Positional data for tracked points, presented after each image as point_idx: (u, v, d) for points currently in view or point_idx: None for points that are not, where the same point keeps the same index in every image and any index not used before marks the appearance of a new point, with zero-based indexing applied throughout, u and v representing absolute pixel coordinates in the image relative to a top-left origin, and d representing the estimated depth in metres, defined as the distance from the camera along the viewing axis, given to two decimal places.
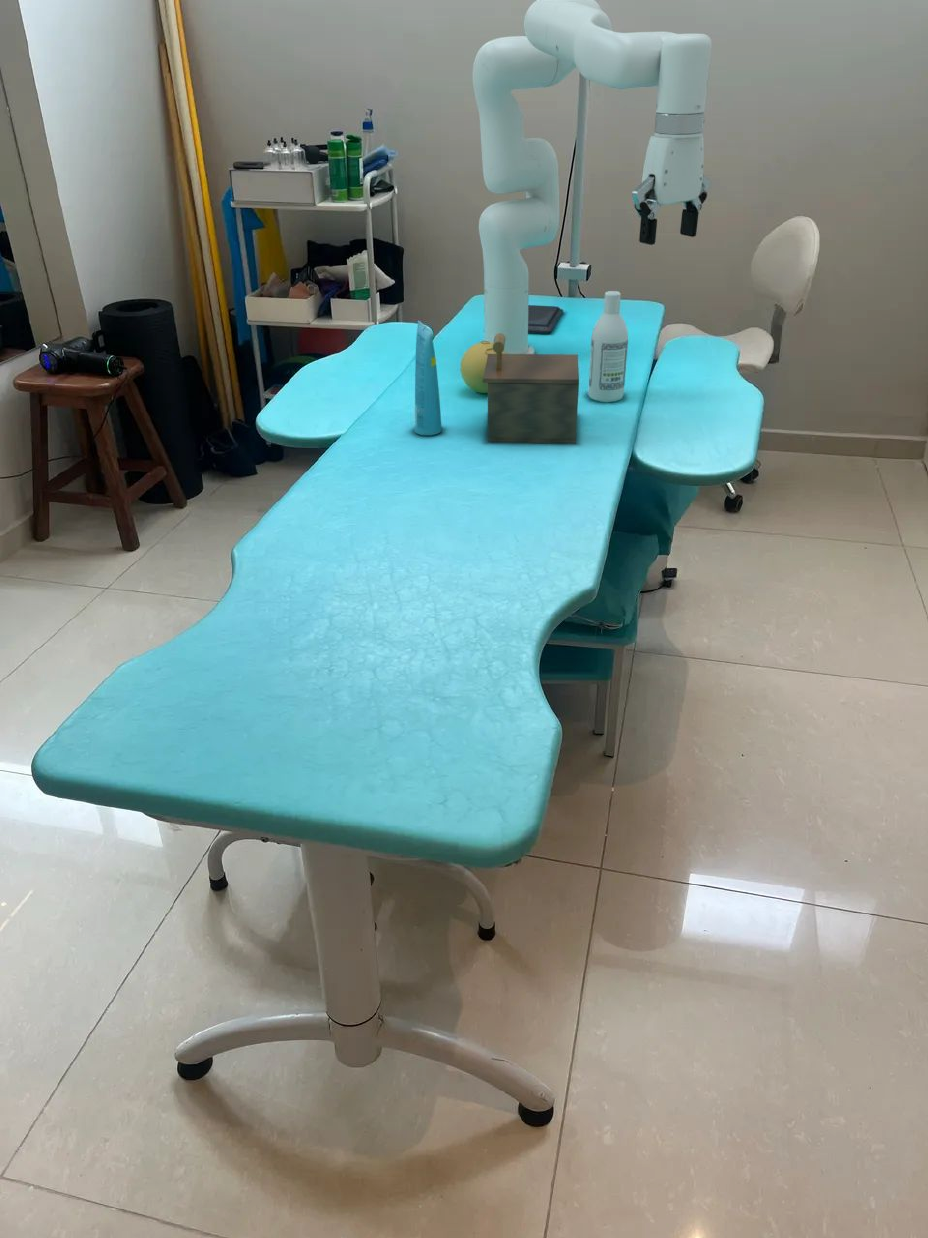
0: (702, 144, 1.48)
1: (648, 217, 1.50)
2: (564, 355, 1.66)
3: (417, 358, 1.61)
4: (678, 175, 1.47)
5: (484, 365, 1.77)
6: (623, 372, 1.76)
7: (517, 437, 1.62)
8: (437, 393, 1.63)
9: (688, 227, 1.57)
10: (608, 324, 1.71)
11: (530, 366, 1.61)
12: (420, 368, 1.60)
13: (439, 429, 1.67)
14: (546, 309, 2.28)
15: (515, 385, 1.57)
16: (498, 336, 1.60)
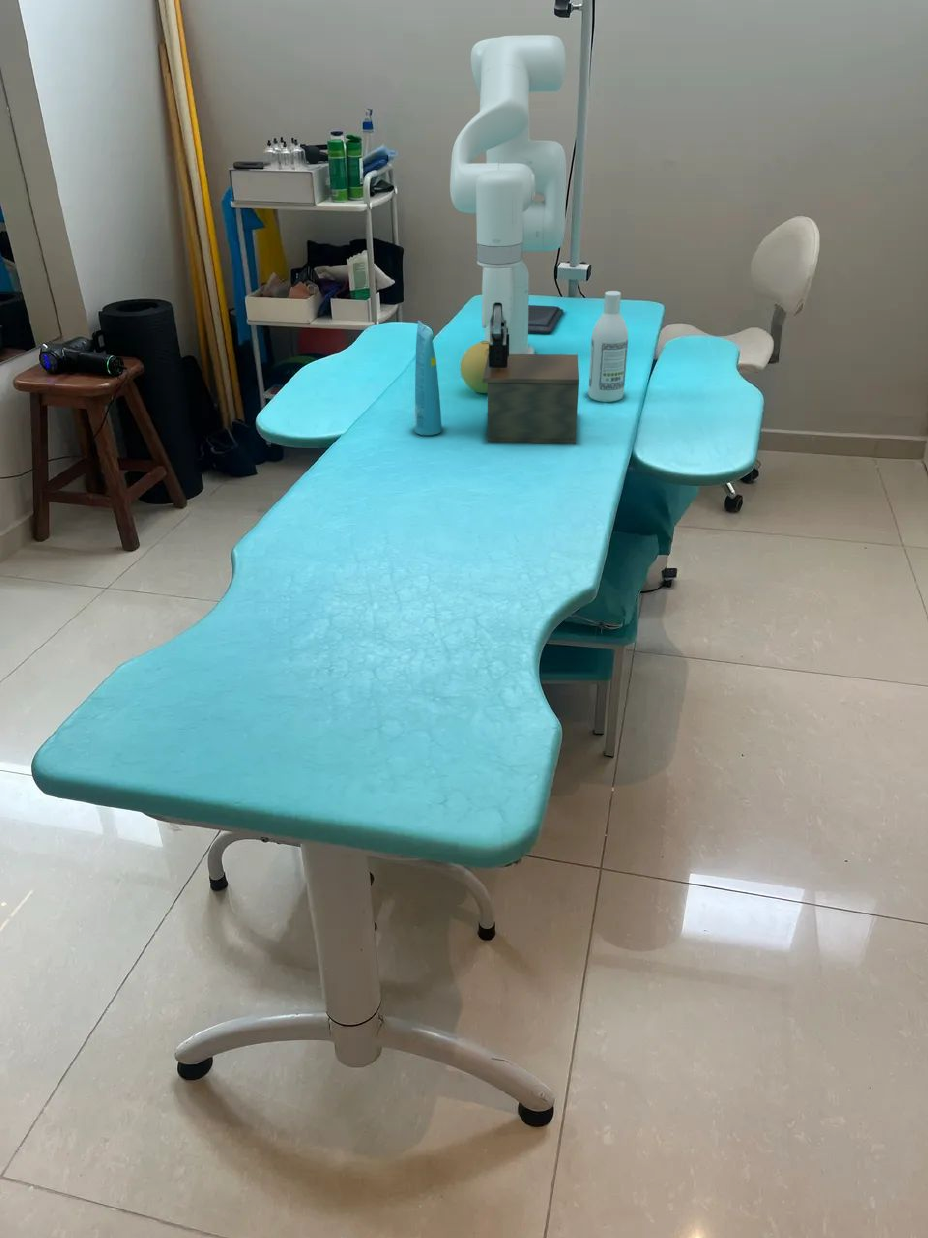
0: None
1: (503, 344, 1.56)
2: (564, 355, 1.66)
3: (417, 358, 1.61)
4: (513, 298, 1.54)
5: (484, 365, 1.77)
6: (623, 372, 1.76)
7: (517, 437, 1.62)
8: (437, 393, 1.63)
9: None
10: (608, 324, 1.71)
11: (530, 367, 1.61)
12: (420, 368, 1.60)
13: (439, 429, 1.67)
14: (546, 309, 2.28)
15: (515, 385, 1.57)
16: None
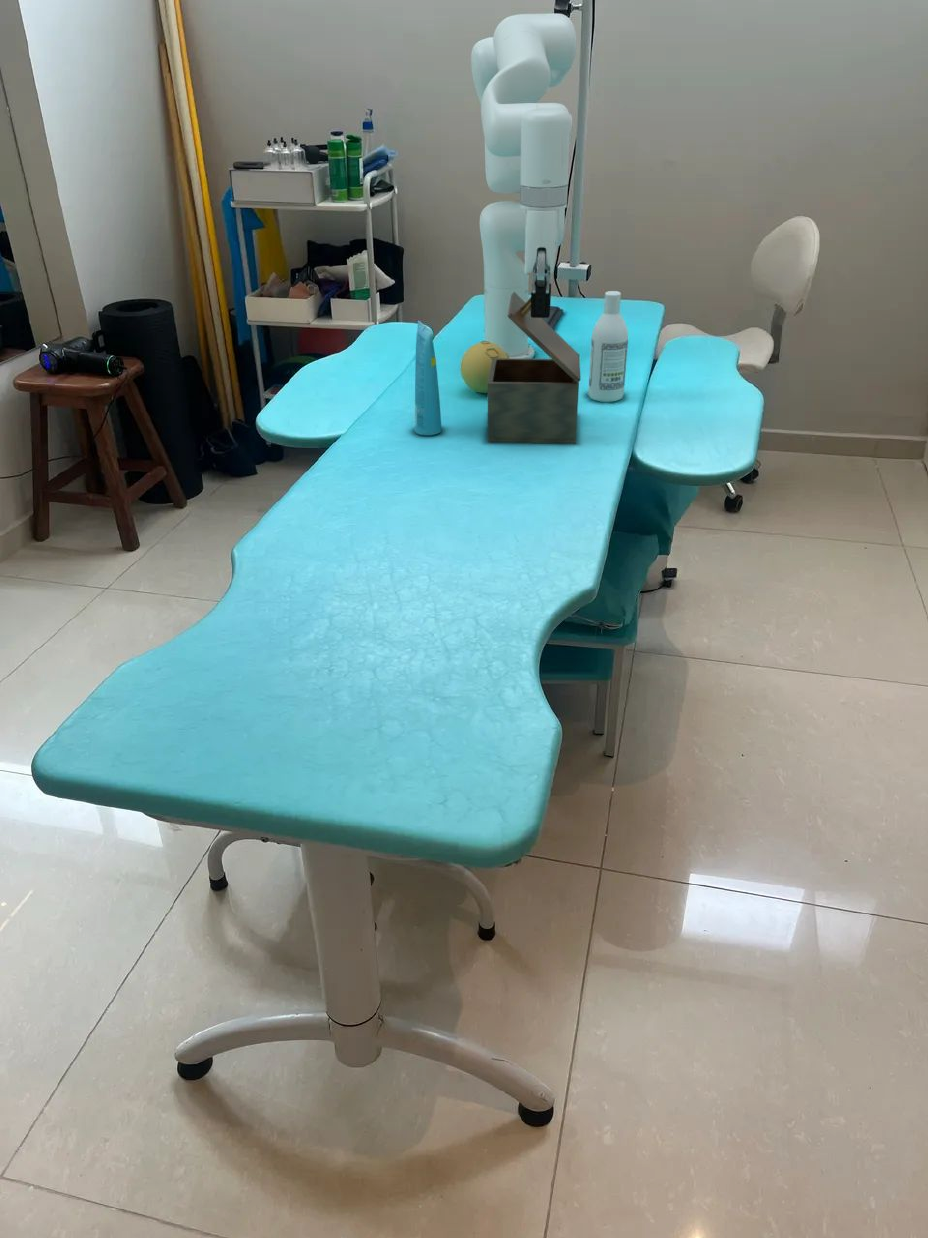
0: None
1: (546, 292, 1.51)
2: (569, 347, 1.65)
3: (417, 358, 1.61)
4: None
5: (484, 365, 1.77)
6: (623, 372, 1.76)
7: (517, 437, 1.62)
8: (437, 393, 1.63)
9: None
10: (608, 324, 1.71)
11: (546, 335, 1.58)
12: (420, 368, 1.60)
13: (439, 429, 1.67)
14: None
15: (515, 385, 1.57)
16: None
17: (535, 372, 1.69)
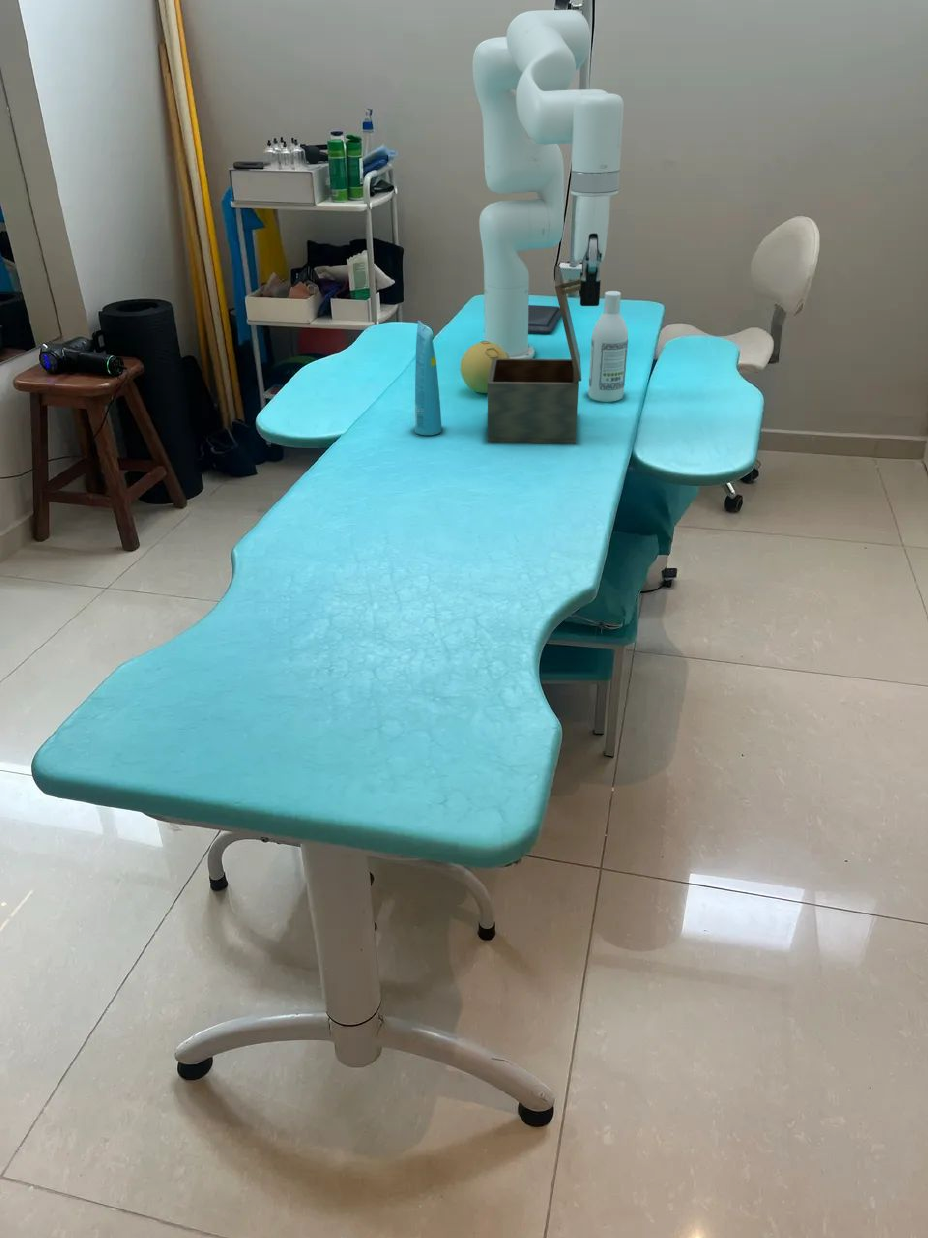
0: None
1: (597, 280, 1.49)
2: None
3: (417, 358, 1.61)
4: None
5: (484, 365, 1.77)
6: (623, 372, 1.76)
7: (517, 437, 1.62)
8: (437, 393, 1.63)
9: None
10: (608, 324, 1.71)
11: (570, 322, 1.57)
12: (420, 368, 1.60)
13: (439, 429, 1.67)
14: (546, 308, 2.28)
15: (515, 385, 1.57)
16: None
17: (535, 372, 1.69)
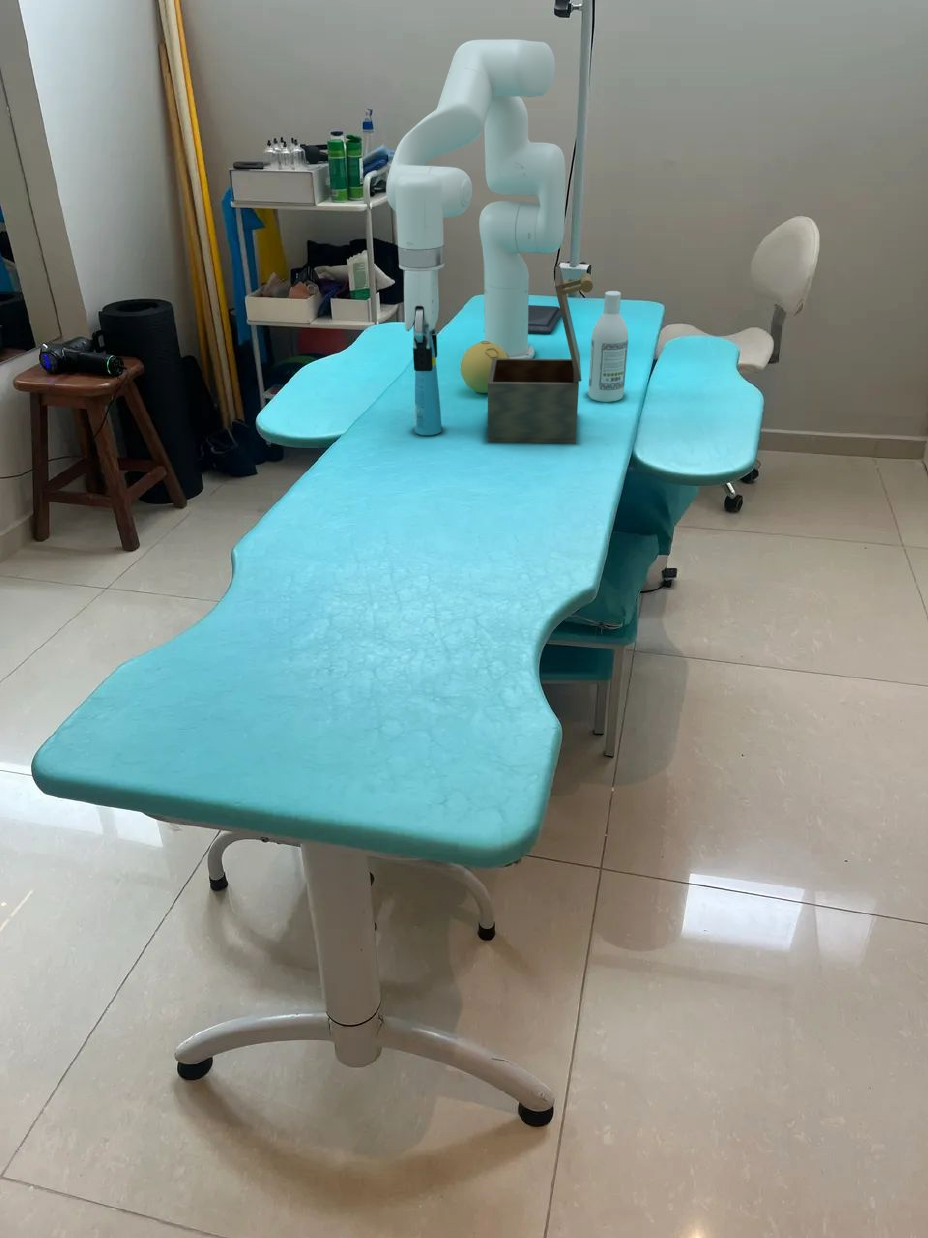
0: None
1: (427, 348, 1.55)
2: None
3: None
4: (436, 302, 1.54)
5: (484, 365, 1.77)
6: (623, 372, 1.76)
7: (517, 437, 1.62)
8: (437, 393, 1.63)
9: None
10: (608, 324, 1.71)
11: (570, 322, 1.57)
12: None
13: (439, 429, 1.67)
14: (546, 309, 2.28)
15: (515, 385, 1.57)
16: (591, 279, 1.54)
17: (535, 372, 1.69)
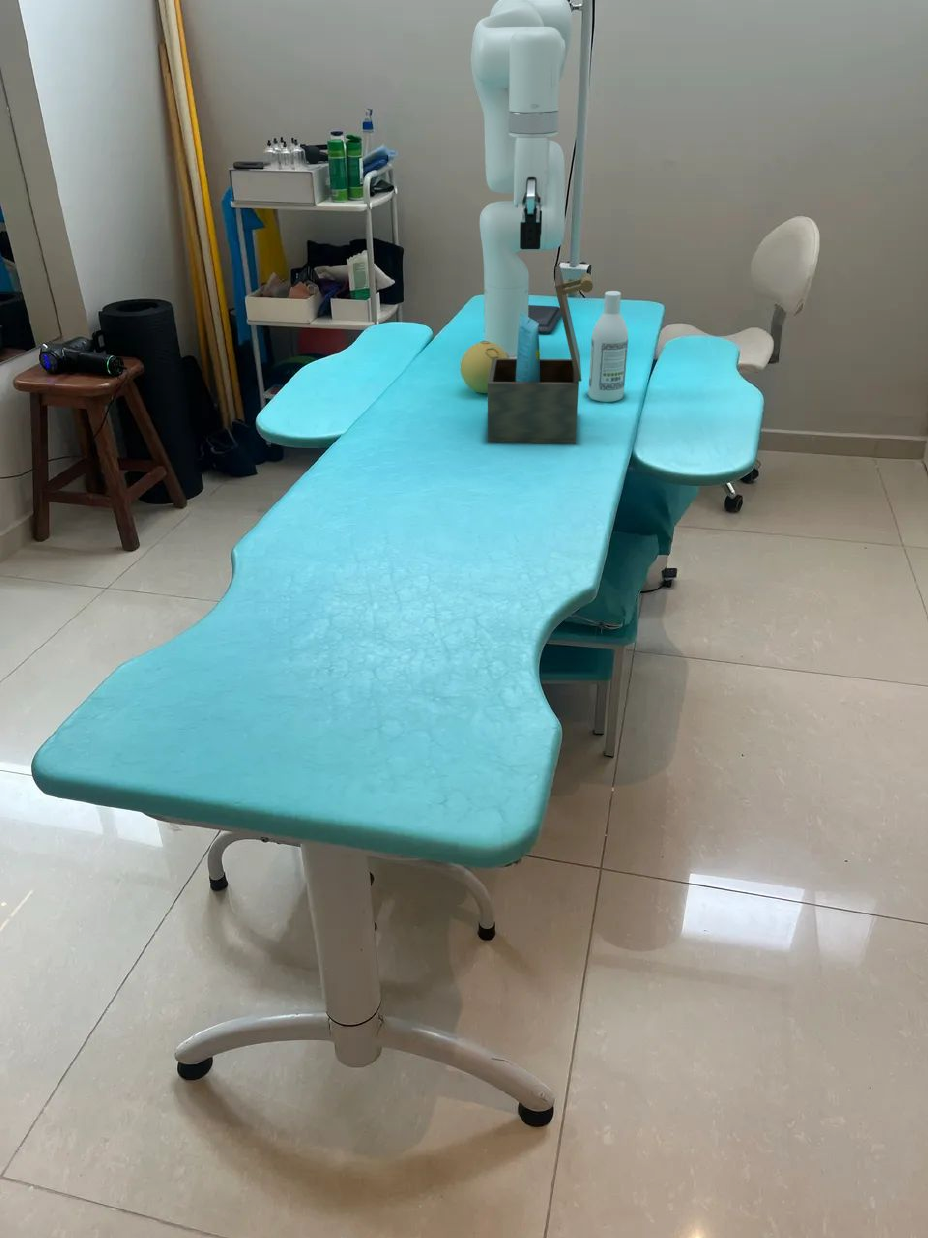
0: None
1: (537, 221, 1.43)
2: None
3: (520, 351, 1.61)
4: (547, 175, 1.43)
5: (484, 365, 1.77)
6: (623, 372, 1.76)
7: (517, 437, 1.62)
8: None
9: None
10: (608, 324, 1.71)
11: (570, 322, 1.57)
12: (524, 361, 1.60)
13: None
14: (546, 308, 2.28)
15: (515, 385, 1.57)
16: (591, 279, 1.54)
17: None
